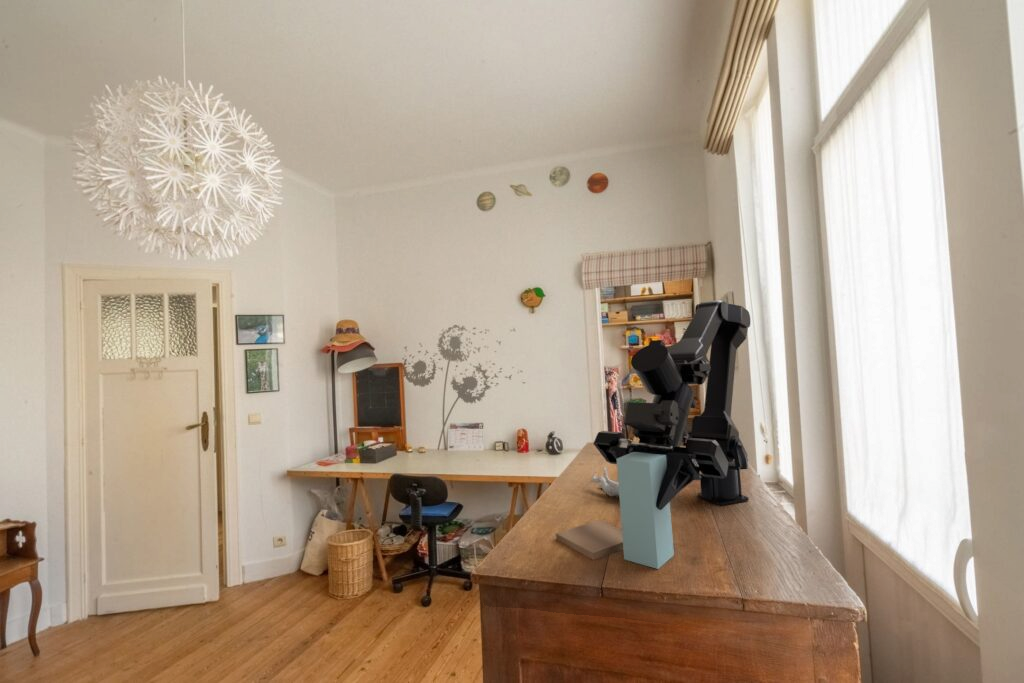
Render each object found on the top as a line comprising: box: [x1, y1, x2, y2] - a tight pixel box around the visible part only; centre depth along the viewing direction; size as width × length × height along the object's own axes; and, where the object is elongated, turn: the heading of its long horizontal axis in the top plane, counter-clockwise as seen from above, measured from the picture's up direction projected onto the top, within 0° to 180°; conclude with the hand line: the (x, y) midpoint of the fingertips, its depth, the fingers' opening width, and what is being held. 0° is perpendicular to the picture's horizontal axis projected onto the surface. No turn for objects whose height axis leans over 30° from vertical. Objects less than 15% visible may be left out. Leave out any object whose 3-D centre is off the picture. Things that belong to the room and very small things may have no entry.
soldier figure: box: [590, 466, 619, 497], centre depth 90 cm, size 8×5×12 cm
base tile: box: [555, 519, 623, 561], centre depth 69 cm, size 9×9×2 cm
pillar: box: [616, 452, 675, 570], centre depth 63 cm, size 5×5×14 cm
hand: (640, 504), depth 62 cm, fingers closed on pillar, 5 cm apart
